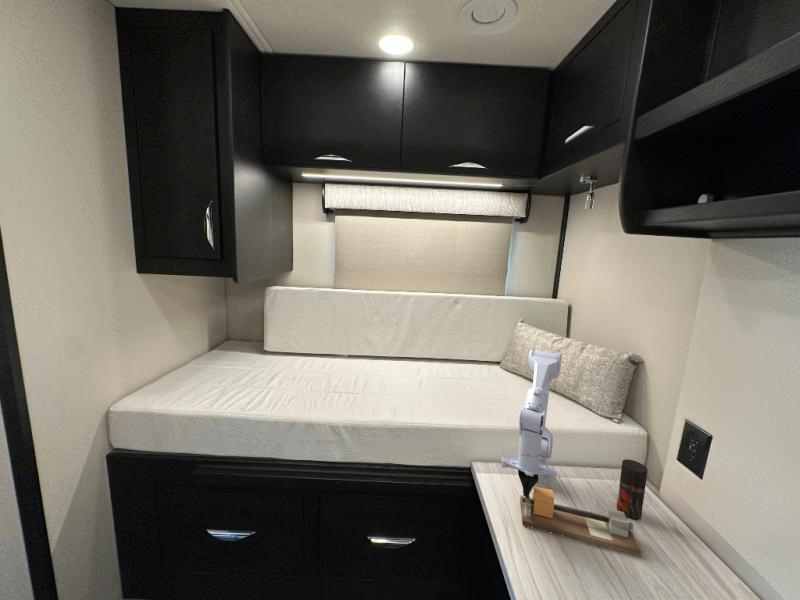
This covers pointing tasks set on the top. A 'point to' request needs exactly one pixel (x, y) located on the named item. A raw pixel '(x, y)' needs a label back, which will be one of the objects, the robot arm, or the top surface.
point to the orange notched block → (543, 502)
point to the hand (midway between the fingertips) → (525, 494)
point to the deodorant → (632, 489)
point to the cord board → (584, 526)
